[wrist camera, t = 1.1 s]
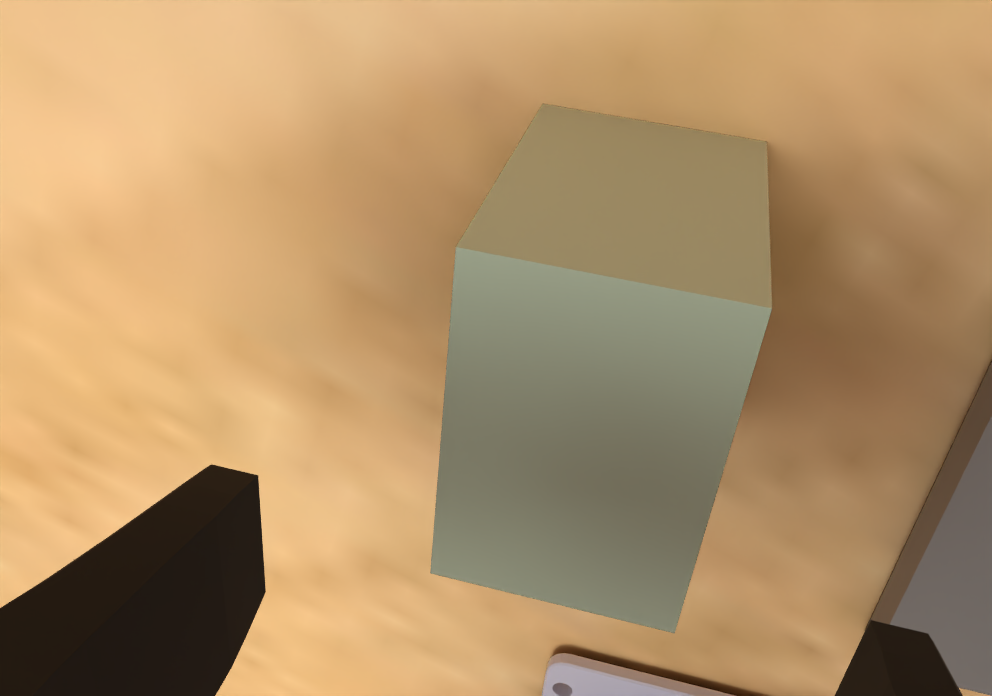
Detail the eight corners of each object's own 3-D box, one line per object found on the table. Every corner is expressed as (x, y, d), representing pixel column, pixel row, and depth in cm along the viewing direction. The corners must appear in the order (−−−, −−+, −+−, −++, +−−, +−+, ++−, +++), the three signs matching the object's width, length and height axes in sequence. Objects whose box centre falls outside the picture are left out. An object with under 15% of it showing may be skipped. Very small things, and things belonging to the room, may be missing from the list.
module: (694, 412, 20) (673, 633, 15) (509, 373, 20) (430, 573, 15) (766, 140, 16) (772, 308, 11) (543, 102, 17) (455, 247, 12)
